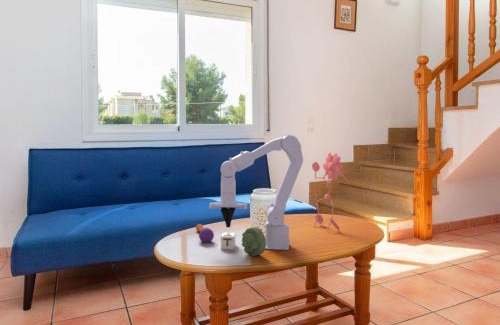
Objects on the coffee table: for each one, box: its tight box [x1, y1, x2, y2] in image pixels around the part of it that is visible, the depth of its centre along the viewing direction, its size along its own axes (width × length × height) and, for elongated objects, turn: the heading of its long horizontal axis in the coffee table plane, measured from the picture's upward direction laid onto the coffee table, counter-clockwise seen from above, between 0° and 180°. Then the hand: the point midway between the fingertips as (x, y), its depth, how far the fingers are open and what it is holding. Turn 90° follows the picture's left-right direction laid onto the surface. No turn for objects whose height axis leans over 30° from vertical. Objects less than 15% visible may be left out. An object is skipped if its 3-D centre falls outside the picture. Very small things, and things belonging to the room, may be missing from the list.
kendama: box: [195, 223, 215, 244], centre depth 159 cm, size 6×6×20 cm
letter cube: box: [220, 232, 236, 250], centre depth 146 cm, size 5×5×5 cm
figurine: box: [311, 152, 351, 236], centre depth 173 cm, size 15×26×35 cm, turn 28°
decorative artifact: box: [241, 226, 266, 257], centre depth 136 cm, size 10×7×10 cm
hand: (228, 226), depth 146 cm, fingers closed
